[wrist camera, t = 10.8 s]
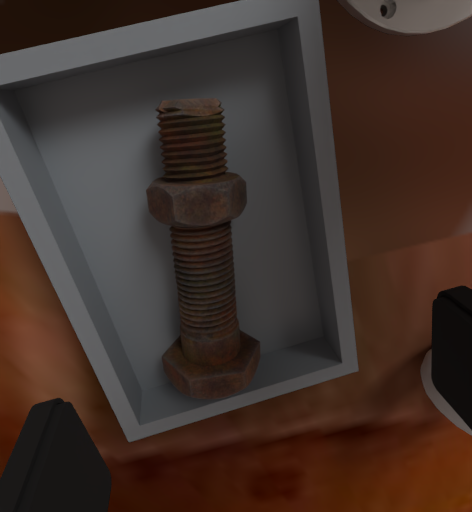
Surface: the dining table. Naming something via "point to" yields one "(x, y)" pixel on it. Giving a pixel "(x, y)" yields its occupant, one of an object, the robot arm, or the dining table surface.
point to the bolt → (202, 250)
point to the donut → (436, 396)
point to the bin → (150, 168)
